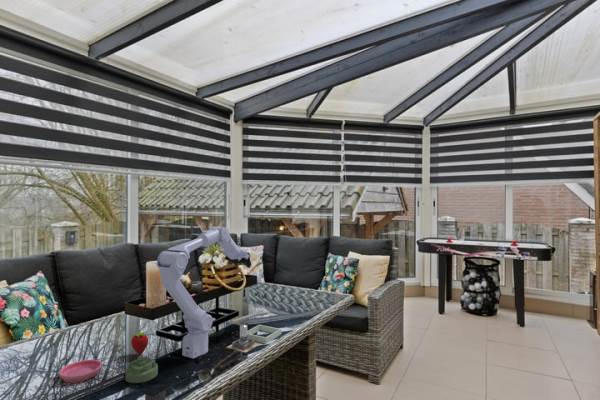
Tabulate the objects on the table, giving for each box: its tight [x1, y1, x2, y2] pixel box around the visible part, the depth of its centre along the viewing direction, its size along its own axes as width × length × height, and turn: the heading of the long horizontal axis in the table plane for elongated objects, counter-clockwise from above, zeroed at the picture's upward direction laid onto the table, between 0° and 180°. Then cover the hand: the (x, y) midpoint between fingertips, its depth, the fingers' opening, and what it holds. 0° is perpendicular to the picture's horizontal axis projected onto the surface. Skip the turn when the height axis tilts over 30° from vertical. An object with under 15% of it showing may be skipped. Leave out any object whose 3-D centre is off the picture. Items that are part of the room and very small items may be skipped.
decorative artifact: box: [124, 354, 159, 384], centre depth 115 cm, size 10×7×10 cm
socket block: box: [225, 338, 262, 353], centre depth 137 cm, size 10×10×2 cm
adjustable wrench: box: [228, 309, 270, 325], centre depth 176 cm, size 25×6×2 cm, turn 133°
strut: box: [238, 324, 249, 345], centre depth 138 cm, size 4×4×8 cm
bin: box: [247, 324, 282, 344], centre depth 147 cm, size 12×12×3 cm
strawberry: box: [130, 329, 149, 356], centre depth 130 cm, size 6×8×10 cm
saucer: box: [58, 359, 103, 384], centre depth 114 cm, size 12×12×3 cm
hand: (243, 265), depth 157 cm, fingers open, 7 cm apart
